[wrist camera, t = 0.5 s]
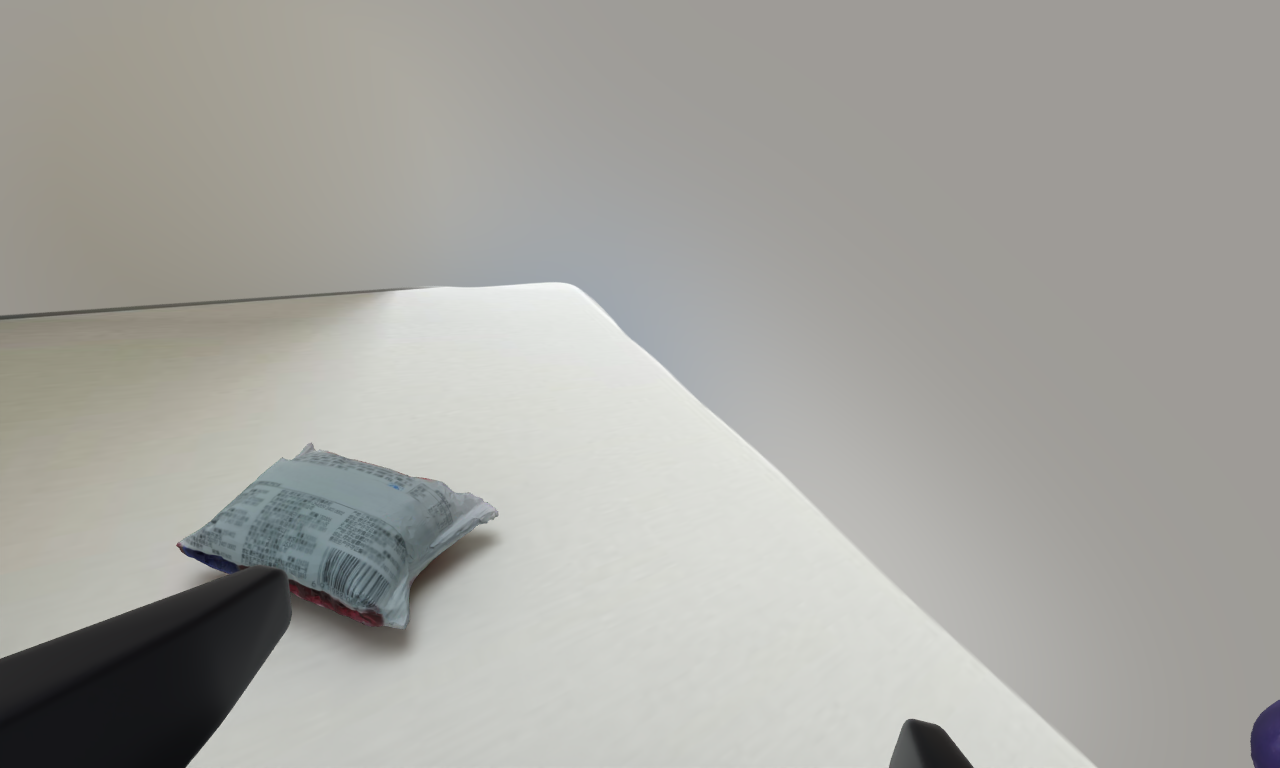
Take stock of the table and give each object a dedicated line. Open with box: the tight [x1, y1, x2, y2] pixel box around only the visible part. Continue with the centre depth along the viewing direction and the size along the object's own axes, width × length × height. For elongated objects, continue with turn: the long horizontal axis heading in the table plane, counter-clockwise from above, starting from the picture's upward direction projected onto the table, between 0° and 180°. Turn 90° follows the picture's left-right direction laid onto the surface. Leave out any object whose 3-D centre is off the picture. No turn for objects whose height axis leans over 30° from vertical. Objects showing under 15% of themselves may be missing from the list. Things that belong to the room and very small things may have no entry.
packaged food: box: [176, 443, 498, 629], centre depth 31 cm, size 9×12×5 cm
